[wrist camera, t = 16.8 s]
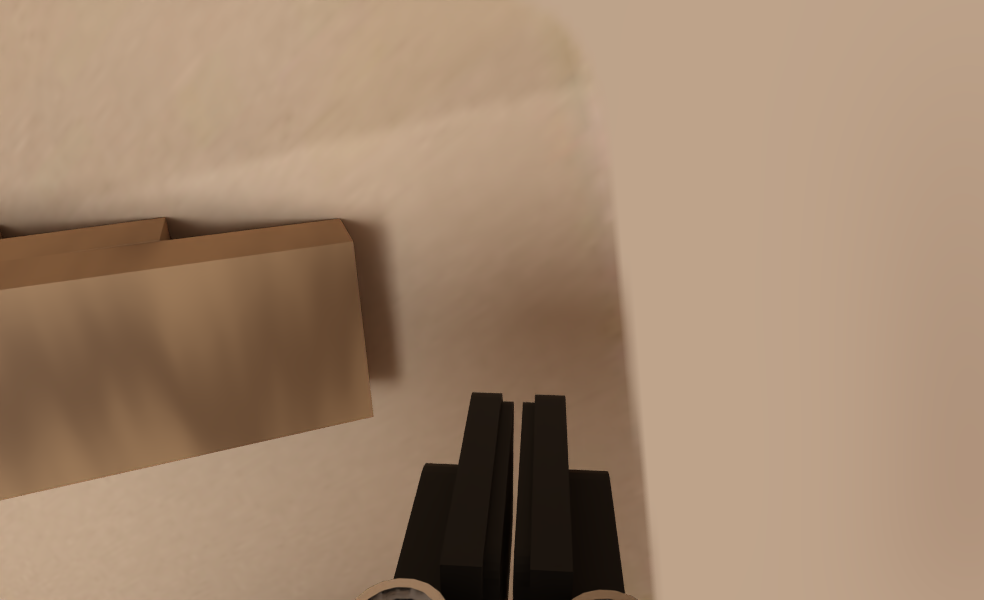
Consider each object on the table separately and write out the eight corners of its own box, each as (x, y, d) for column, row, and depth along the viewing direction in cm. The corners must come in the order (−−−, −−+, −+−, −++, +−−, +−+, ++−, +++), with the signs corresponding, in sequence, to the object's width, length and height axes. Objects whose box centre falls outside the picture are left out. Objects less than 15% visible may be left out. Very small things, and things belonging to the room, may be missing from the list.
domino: (373, 416, 18) (-20, 504, 15) (359, 380, 19) (4, 453, 17) (353, 241, 16) (-108, 305, 13) (339, 218, 17) (-70, 270, 15)
